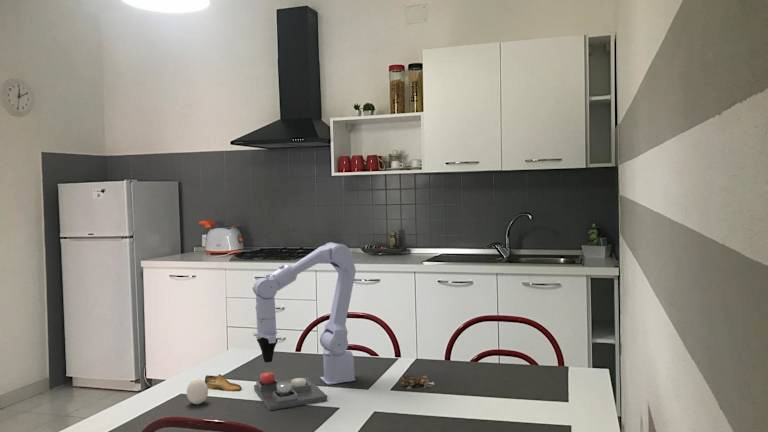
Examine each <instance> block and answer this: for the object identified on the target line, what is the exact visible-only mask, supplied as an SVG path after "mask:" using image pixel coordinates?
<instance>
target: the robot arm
mask: <svg viewBox="0 0 768 432" xmlns="http://www.w3.org/2000/svg"><path fill="white" fill-rule="evenodd" d="M319 263H320V264H321V263H324V264H325V263H327V264H330V265H331V266H333V268H334V269H335V271H336V272H337V279H336V285H335V289H334V295H333V300H332V305H331V309H330V316H329V321H328V322H327V323H326V324H325V326H324V330H323V331H322V333H321V334H320V337H319V343H320V345H321V346H322V348H323V351H322V357H323V363H322V364H323V376H320V377H319V379H320V380H322V382H324V383H325V384H326V385H328V386H329V385H335V384H341V383H347V382H354V381H356V377H355V359H354V355H353V353H352V351H351V350H347V349H348V348H349V341H348V334H349V333H348V330H347V326H346V323H347V317H348V313H349V308H350V302H351V297H352V292H353V287H354V282H355V277H356V272H357V271H356V270H357V269H356V266H355V262H354V259H353V251H351V249H350V248H349V247H348V246H347V245H345V244H343V243H336V242H331V241H330V242H327V243H325V244H324V245H321V246H319V247H317V248H316V249H314V250H313V251H312V252H310V253H309V254H307V255H306V256H304V257H303V258H301V259H299V260H298V261H296V262H295V263H294V264H292V265H290V264H284V265H283V264H280V265H279V266H278V269H276V270H275V271H273V272H271V273H266V274H265V277H260V278H258V279H257V280H256V281H255V283H254V284H253V287H252V291H253V293H254V294H255V302H256V303H255V308H256V310H255V312H256V315H255V316H256V332H253V333H252V334H253V336H254V337H260V338H257V339H256V341H257V343H258V346H259V347H260V351H261V355H262V358H263V362H264V363H266V364H267V363H271V362H273V358H274V352H275V348H276V345H277V344H278V339H277V334H278V331H277V319H276V315H277V314H276V301H275V300H276V299H275V297H276V296H277V293H278V291H280V290H282V289H284V288H285V287H287V286H288V285H291V284H292V283H293V282H295V281H296V280H297V277H298V275H299V274H301V273H303V272H305V271H306V270H308V269H311V268H313V267H314V266H315V265H317V264H319Z"/></svg>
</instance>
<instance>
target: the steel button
mask: <svg viewBox="0 0 768 432" xmlns="http://www.w3.org/2000/svg"><path fill="white" fill-rule="evenodd" d="M291 393H292V383H291V382H281V383H278V384H277V394H278V395H288V394H291Z"/></svg>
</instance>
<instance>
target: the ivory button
mask: <svg viewBox="0 0 768 432" xmlns="http://www.w3.org/2000/svg"><path fill="white" fill-rule="evenodd" d="M291 379H292V380H291V383H292V387H298V386H304V385H306V379H304V378H302V377H297V378H296V377H295V378H291Z"/></svg>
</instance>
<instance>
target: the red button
mask: <svg viewBox="0 0 768 432" xmlns="http://www.w3.org/2000/svg"><path fill="white" fill-rule="evenodd" d="M259 376H260V381H261V384H272V383H275V379H276V373H275V372H273V371H266V372H262V373H260V375H259Z"/></svg>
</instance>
